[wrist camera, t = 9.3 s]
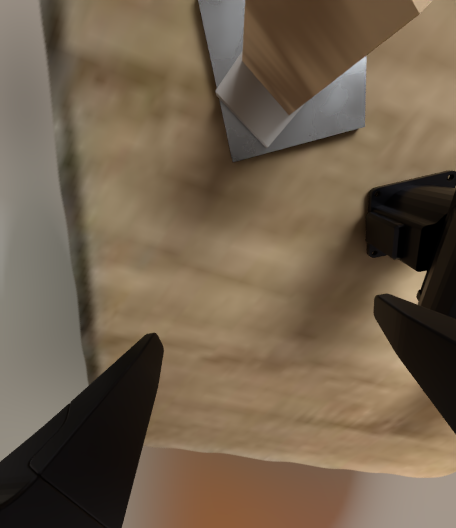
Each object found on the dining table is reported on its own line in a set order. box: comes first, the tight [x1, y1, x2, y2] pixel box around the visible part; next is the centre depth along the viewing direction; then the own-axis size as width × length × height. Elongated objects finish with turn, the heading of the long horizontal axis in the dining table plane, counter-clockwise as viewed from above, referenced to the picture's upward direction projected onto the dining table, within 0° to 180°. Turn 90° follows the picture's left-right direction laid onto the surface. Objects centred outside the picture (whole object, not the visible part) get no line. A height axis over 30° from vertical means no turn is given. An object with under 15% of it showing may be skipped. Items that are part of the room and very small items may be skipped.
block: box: [215, 0, 432, 148], centre depth 9 cm, size 5×9×13 cm, turn 139°
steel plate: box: [198, 0, 366, 162], centre depth 15 cm, size 10×10×1 cm
